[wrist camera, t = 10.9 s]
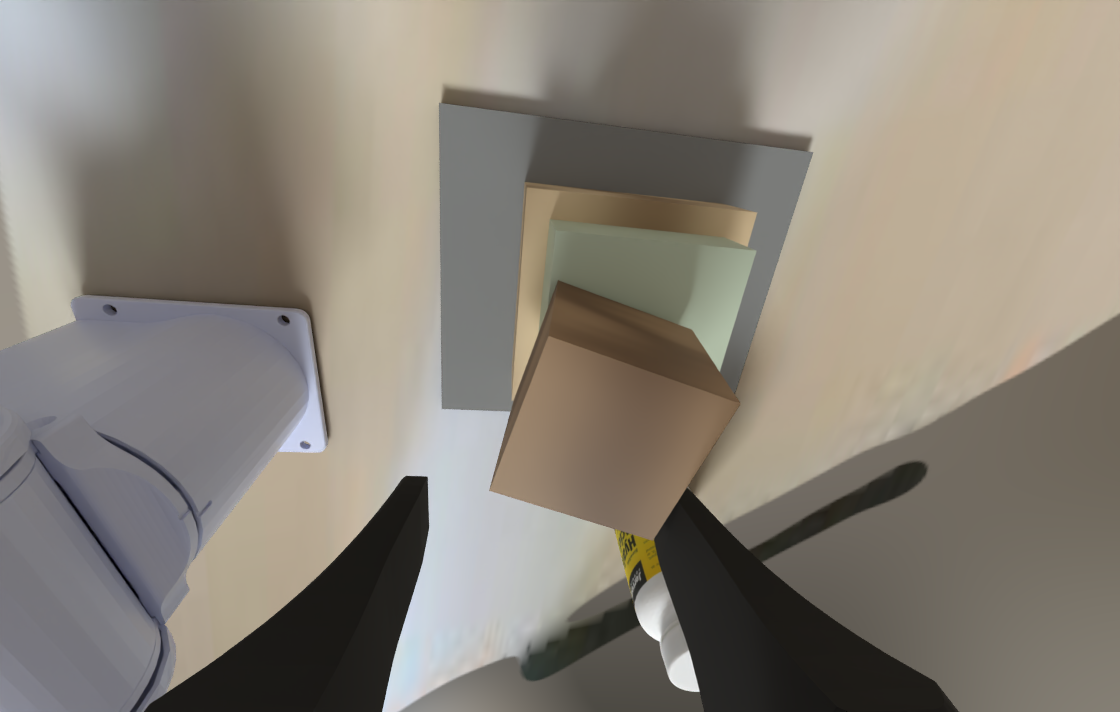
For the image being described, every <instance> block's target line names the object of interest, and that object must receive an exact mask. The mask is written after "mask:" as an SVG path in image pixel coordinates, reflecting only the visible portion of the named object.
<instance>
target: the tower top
mask: <svg viewBox="0 0 1120 712" xmlns="http://www.w3.org/2000/svg"><path fill="white" fill-rule="evenodd" d="M755 255H756V250H754V249H751V248H749V247H746V246H744V245H742V244H739V243H737V242H734V241H732V240H730V239H727V238H725V237H716V236H707V235H697V234H688V233H678V232H668V231H659V230H649V229H640V228H630V227H621V226H611V225H602V224H592V223H582V222H573V221H563V220H554V219H550V221H549V231H548V241H547V251H546V261H545V271H544V281H543V291H542V301H541V311H540V321H539V330H540V328H541V325H542V322H543V320H544V317H545V314H546V312H547V309H548V306H549V303H550V301H551V298H552V295H553V293H554V290H555V287H556V285H557V282H558V280H559V281H562V282H564V283H567V284H570V285H573V286H575V287H578V288H581V289H583V290H586V291H589V292H591V293H594V294H597V295H600V296H602V297H605V298H608V299H610V300H613V301H616V302H619V303H621V304H624V305H627V306H629V307H632V308H635V309H638V310H640V311H643V312H646V313H648V314H651V315H654V316H656V317H659V318H662V319H665V320H667V321H670V322H673V323H675V324H678V325H681V326H684V327H686V328H689V329H692V330H693V332H694V333H695V335H696V337H697V338H698V340H699V341H700V343H701V344H702V346H703V347H704V349H705V350H706V352H707V353H708V355H709V356H710V358H711V359H712V361H713V362H714V364H715V365H716V367H717V369H718V370H719V372H720V369H721V366H722V363H723V359H724V356H725V353H726V349H727V346H728V343H729V340H730V336H731V333H732V330H733V327H734V323H735V320H736V317H737V313H738V310H739V307H740V304H741V300H742V297H743V294H744V291H745V287H746V284H747V281H748V277H749V274H750V271H751V268H752V264H753V261H754V258H755ZM538 333H539V331H538Z"/></svg>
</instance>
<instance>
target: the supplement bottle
mask: <svg viewBox="0 0 1120 712" xmlns="http://www.w3.org/2000/svg"><path fill="white" fill-rule="evenodd" d="M687 488H688V489H689V490H690V488H689V487H687ZM690 491H691V490H690ZM615 533H616V537H617V541H618V545H619V549H620V553H621V557H622V561H623V565H624V569H625V573H626V576H627V580H628V584H629V588H630V592H631V596H632V599H633V603H634V607H635V611H636V613H637V617H638V620H639V622H640V624H641V626H642V627H643V629H644V630H645V631H646V632H647V633H648V634H649V635H650V636H651V637H653V638H654V639H656V640H658V641H660V648H661V654H662V657H663V660H664V663H665V667H666V670H667V673H668V676H669V679H670V680H671V682H672V683H673V684H674V685H675V686H677V687H678V688H681V689H683V690H687V691H693V692H694V691H695V692H700V691H699V687H698V683H697V679H696V675H695V671H694V667H693V663H692V659H691V656H690V653H689V649H688V646H687V643H686V640H685V637H684V634H683V631H682V628H681V625H680V623H679V620H678V617H677V614H676V611H675V608H674V606H673V603H672V600H671V597H670V594H669V591H668V588H667V585H666V583H665V580H664V577H663V574H662V571H661V568H660V565H659V561H658V556H657V552H656V547H655V542H654V540H653V541H652V540H649V539H646V538H642V537H639V536H636V535H633V534H629V533H626V532H623V531H619V530H616V529H615Z"/></svg>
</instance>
